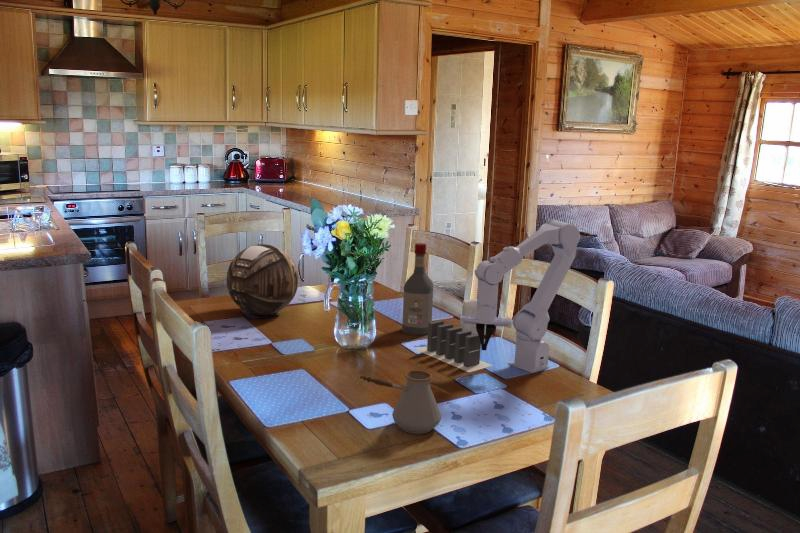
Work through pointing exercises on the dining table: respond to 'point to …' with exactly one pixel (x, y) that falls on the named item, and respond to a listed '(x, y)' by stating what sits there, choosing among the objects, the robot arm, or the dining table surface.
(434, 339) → the domino
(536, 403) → the dining table surface
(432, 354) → the domino board
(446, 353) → the domino
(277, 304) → the sphere
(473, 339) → the domino
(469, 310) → the cream rounded block
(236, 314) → the dining table surface
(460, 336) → the domino
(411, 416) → the coffee pot
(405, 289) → the liquor
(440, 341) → the domino
